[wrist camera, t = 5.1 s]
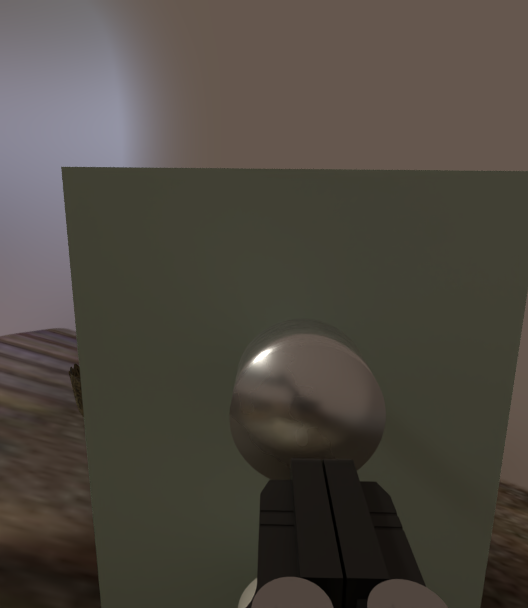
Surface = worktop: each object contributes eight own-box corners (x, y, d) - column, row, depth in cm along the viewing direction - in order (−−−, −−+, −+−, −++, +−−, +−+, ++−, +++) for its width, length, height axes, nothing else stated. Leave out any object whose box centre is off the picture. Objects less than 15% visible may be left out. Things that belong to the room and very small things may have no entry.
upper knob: (380, 488, 15) (391, 345, 14) (229, 486, 15) (228, 343, 14) (346, 397, 22) (351, 296, 21) (242, 395, 22) (242, 294, 21)
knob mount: (467, 696, 25) (545, 171, 19) (108, 687, 25) (61, 166, 19) (420, 577, 33) (464, 178, 26) (146, 572, 33) (122, 175, 27)
